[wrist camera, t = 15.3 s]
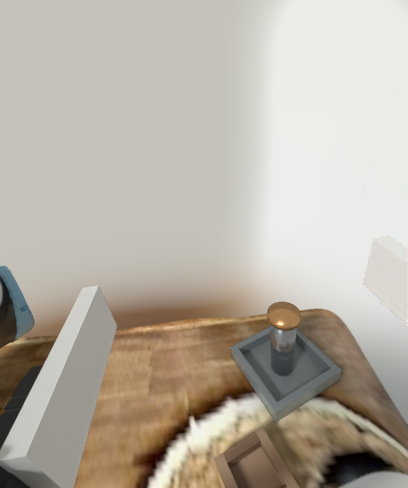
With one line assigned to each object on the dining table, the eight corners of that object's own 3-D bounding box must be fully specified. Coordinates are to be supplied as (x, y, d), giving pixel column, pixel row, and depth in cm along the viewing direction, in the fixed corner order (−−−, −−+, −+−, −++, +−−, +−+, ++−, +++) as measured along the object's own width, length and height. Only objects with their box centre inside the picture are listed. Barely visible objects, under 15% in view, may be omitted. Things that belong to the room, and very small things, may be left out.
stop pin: (262, 361, 43) (261, 309, 37) (283, 349, 44) (285, 297, 38) (280, 383, 39) (281, 330, 33) (302, 370, 41) (307, 316, 34)
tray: (231, 356, 45) (230, 347, 44) (286, 327, 49) (286, 318, 47) (275, 422, 35) (275, 412, 34) (339, 380, 39) (341, 370, 38)
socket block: (216, 466, 32) (214, 458, 31) (263, 436, 34) (262, 427, 33) (248, 542, 26) (246, 535, 25) (301, 499, 28) (302, 491, 27)
